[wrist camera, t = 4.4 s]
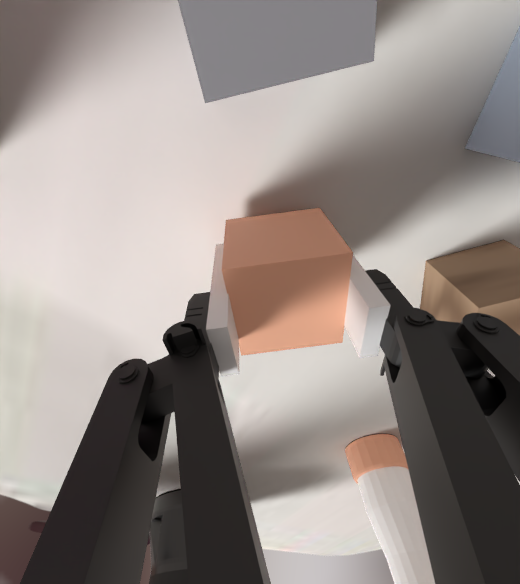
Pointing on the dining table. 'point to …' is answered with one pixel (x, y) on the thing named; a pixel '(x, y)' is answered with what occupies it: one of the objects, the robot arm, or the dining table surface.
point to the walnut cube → (474, 284)
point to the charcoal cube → (275, 41)
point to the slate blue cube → (501, 112)
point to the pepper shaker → (391, 506)
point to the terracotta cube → (286, 280)
